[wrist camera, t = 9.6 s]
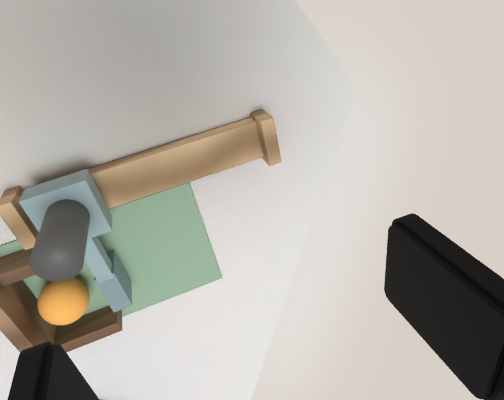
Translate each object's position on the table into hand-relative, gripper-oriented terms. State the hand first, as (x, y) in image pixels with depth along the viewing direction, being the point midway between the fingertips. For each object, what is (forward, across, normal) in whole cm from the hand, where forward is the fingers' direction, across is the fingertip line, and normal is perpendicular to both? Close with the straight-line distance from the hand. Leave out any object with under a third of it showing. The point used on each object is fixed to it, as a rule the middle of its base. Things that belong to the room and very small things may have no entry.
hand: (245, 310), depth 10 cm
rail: (+25, +2, +6) cm, 26 cm away
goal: (+25, +14, +16) cm, 32 cm away
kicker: (+24, +9, +11) cm, 28 cm away
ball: (+21, +15, +16) cm, 30 cm away
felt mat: (+25, +9, +16) cm, 31 cm away
